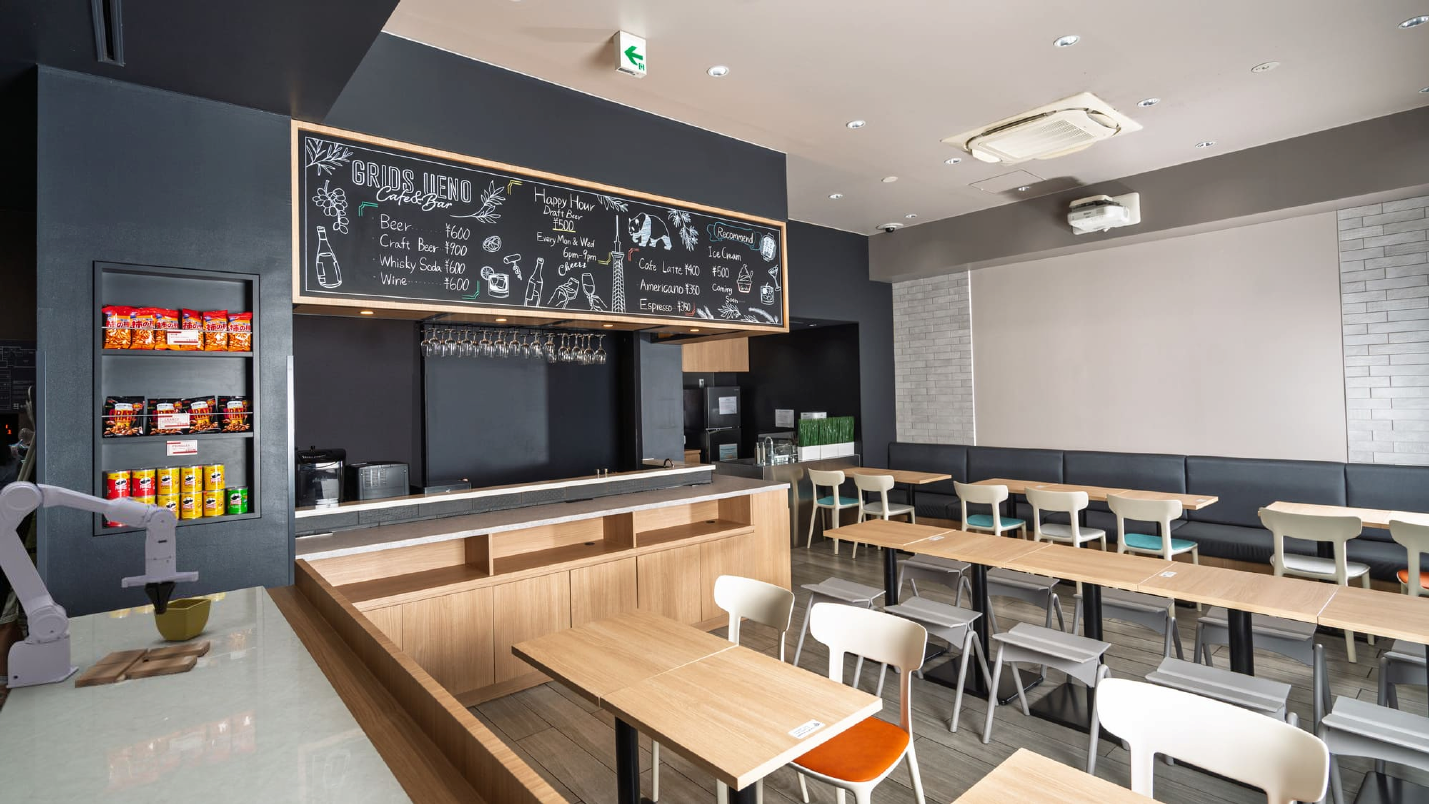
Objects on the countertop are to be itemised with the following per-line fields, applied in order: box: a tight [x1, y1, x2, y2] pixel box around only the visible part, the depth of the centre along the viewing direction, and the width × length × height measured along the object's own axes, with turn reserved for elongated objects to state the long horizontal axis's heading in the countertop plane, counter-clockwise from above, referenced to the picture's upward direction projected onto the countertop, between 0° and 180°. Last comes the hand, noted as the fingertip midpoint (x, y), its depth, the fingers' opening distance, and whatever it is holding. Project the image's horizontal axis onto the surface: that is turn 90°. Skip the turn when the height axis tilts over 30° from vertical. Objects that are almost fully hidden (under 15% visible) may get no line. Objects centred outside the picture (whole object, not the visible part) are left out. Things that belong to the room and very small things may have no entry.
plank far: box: [142, 641, 211, 662], centre depth 164 cm, size 12×6×2 cm, turn 112°
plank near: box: [124, 655, 198, 680], centre depth 155 cm, size 12×6×2 cm, turn 112°
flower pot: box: [152, 598, 212, 641], centre depth 177 cm, size 9×9×9 cm
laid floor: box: [74, 647, 149, 689], centre depth 156 cm, size 8×18×2 cm, turn 23°
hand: (161, 613), depth 166 cm, fingers closed
